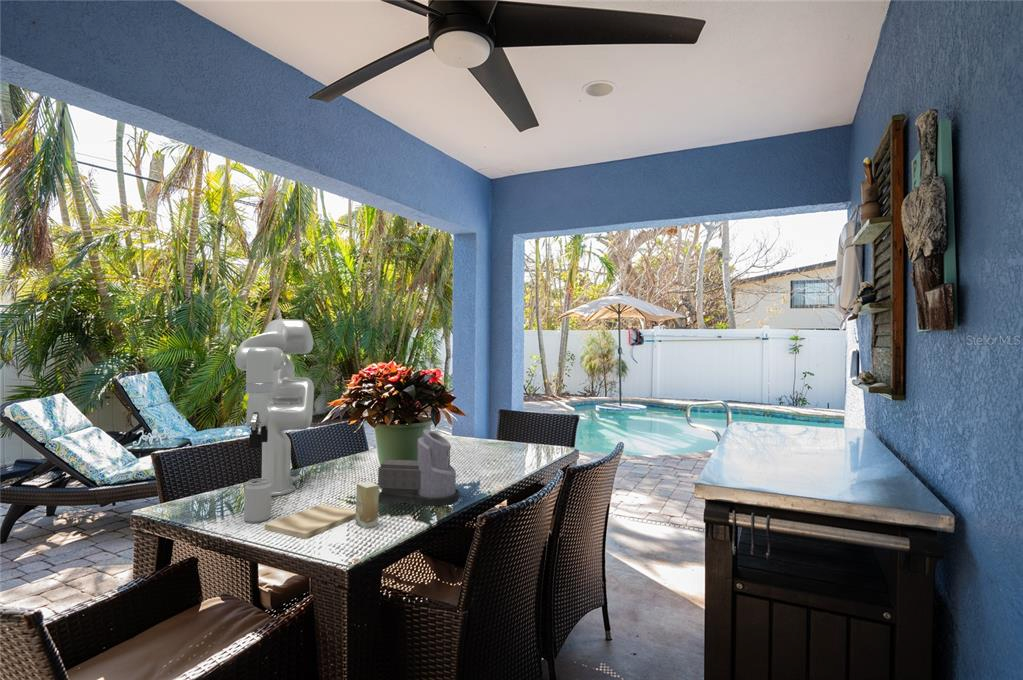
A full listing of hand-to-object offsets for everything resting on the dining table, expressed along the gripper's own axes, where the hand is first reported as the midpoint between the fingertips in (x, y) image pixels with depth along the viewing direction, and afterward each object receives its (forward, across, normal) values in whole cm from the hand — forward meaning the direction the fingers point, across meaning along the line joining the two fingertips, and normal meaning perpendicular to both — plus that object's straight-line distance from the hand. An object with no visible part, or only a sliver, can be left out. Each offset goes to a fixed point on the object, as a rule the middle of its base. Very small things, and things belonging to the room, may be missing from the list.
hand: (258, 444), depth 165 cm
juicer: (+23, -12, +50) cm, 56 cm away
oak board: (+23, +6, +17) cm, 29 cm away
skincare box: (+23, +11, +32) cm, 41 cm away
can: (+23, 0, 0) cm, 23 cm away
